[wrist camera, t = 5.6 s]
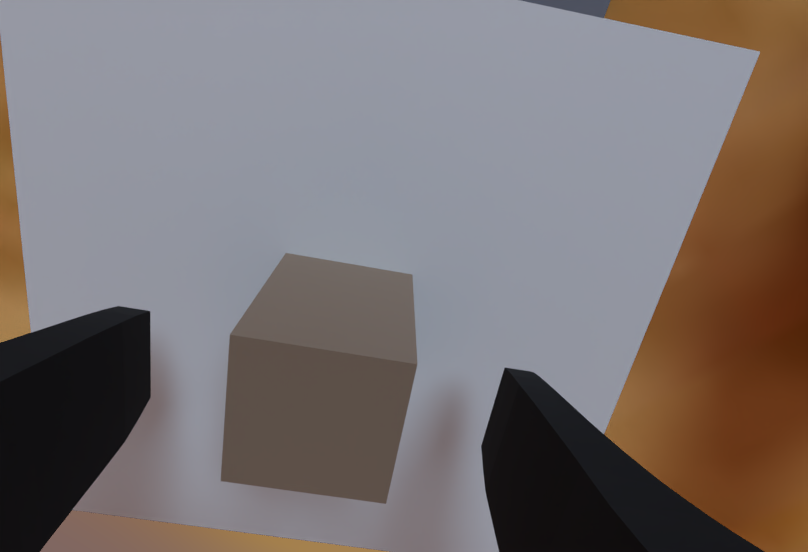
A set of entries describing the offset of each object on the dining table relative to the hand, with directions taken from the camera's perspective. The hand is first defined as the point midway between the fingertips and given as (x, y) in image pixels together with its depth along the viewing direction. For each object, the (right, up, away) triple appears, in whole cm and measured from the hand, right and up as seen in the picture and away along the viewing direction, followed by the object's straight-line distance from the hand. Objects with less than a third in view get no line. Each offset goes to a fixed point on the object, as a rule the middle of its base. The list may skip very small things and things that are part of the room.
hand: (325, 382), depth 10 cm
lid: (0, +1, +3) cm, 3 cm away
